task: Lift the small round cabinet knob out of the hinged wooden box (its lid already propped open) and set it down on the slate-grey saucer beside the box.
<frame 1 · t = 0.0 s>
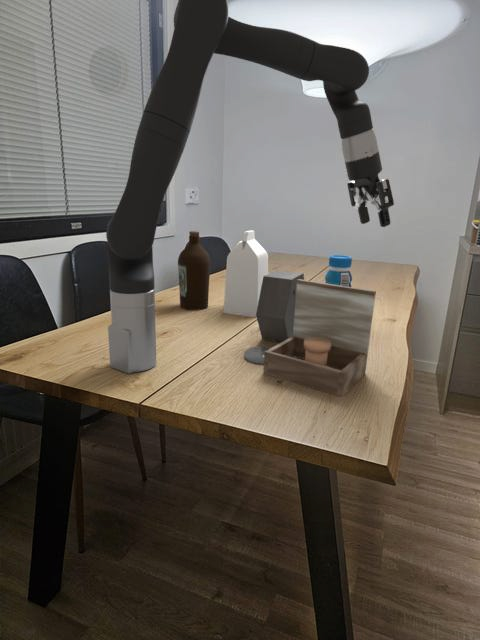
hand: (375, 224, 100), 31 cm above the table, tool tilted 20°, fingers open, 8 cm apart
saucer: (262, 356, 101), on the table
milk: (246, 311, 141), on the table
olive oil: (193, 307, 143), on the table
planter: (280, 337, 116), on the table
round cabinet knob: (316, 357, 92), in the hinged wooden box
beverage bottle: (334, 319, 134), on the table
hinged wooden box: (314, 373, 93), on the table
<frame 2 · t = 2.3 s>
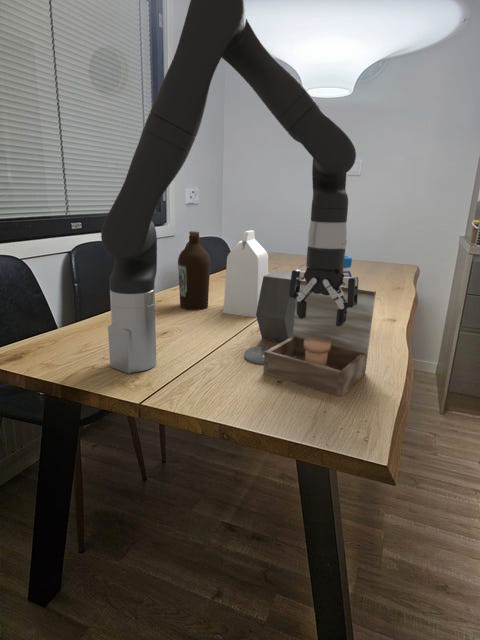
hand: (320, 321, 90), 12 cm above the table, tool pointing down, fingers open, 8 cm apart
nothing on the table moved.
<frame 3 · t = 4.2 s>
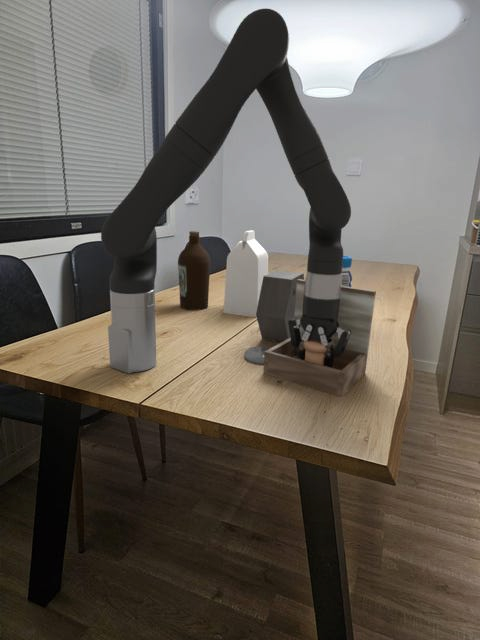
hand: (315, 368, 93), 1 cm above the table, tool pointing down, fingers closed on round cabinet knob, 4 cm apart
round cabinet knob: (315, 357, 92), in the hinged wooden box, touching gripper
everything else where it was.
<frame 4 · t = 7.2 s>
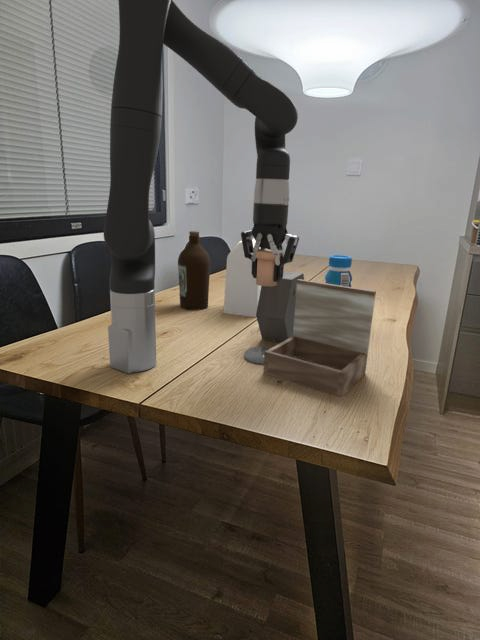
hand: (266, 279, 96), 19 cm above the table, tool pointing down, fingers closed on round cabinet knob, 4 cm apart
round cabinet knob: (267, 267, 95), point 22 cm above the table, touching gripper
everything else where it was.
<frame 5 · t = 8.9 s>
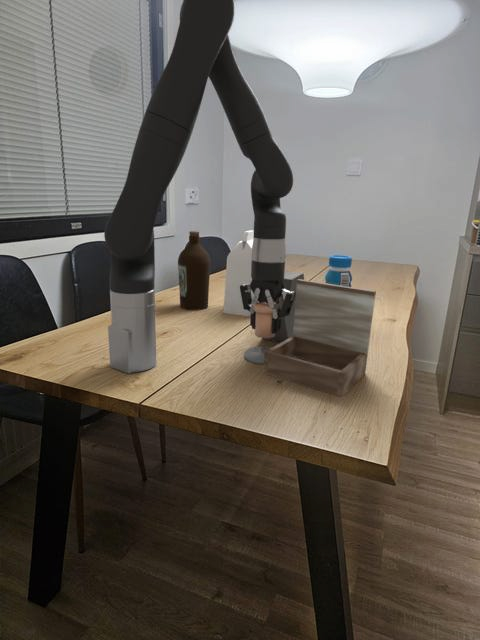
hand: (265, 330, 99), 7 cm above the table, tool pointing down, fingers closed on round cabinet knob, 4 cm apart
round cabinet knob: (265, 319, 99), point 9 cm above the table, touching gripper
everything else where it was.
when the fingers open (3 cm above the table, at t = 10.5 s): round cabinet knob stays where it is, resting on saucer.
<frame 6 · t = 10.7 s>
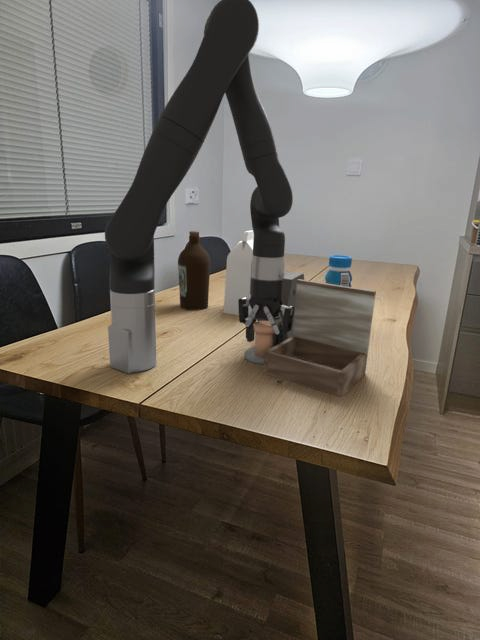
hand: (263, 344, 100), 3 cm above the table, tool pointing down, fingers open, 6 cm apart
round cabinet knob: (265, 339, 100), on the saucer, point 4 cm above the table, touching gripper
everything else where it was.
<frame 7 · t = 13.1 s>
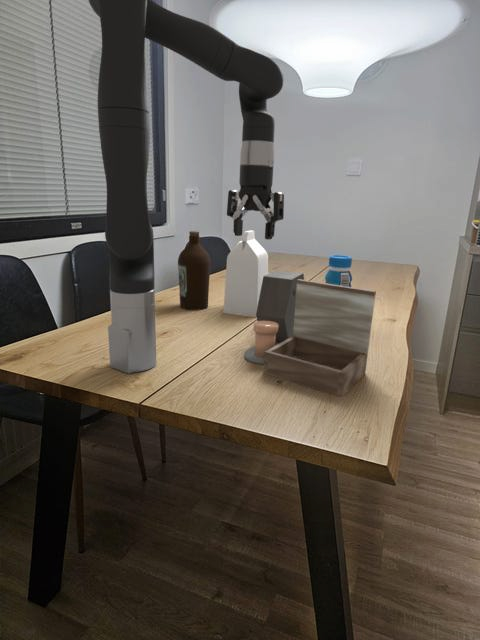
hand: (253, 237, 99), 28 cm above the table, tool pointing down, fingers open, 8 cm apart
round cabinet knob: (265, 339, 100), on the saucer, point 4 cm above the table
everything else where it was.
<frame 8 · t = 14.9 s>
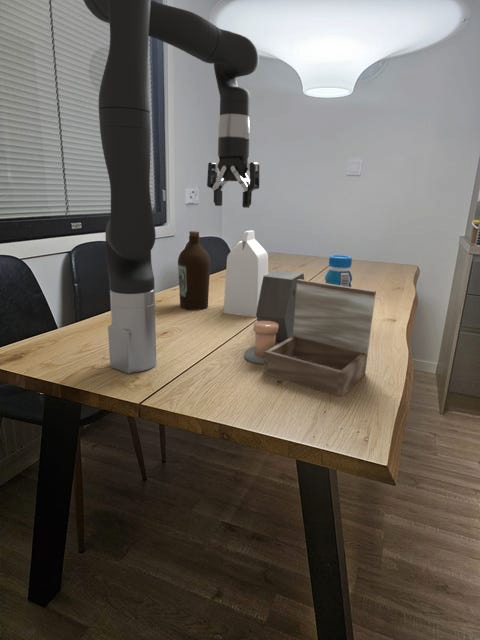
hand: (231, 206, 106), 34 cm above the table, tool pointing down, fingers open, 8 cm apart
nothing on the table moved.
at the end: round cabinet knob 0.4 cm from the saucer (horizontally); round cabinet knob point 4.5 cm above the table; round cabinet knob tilted 0° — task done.
